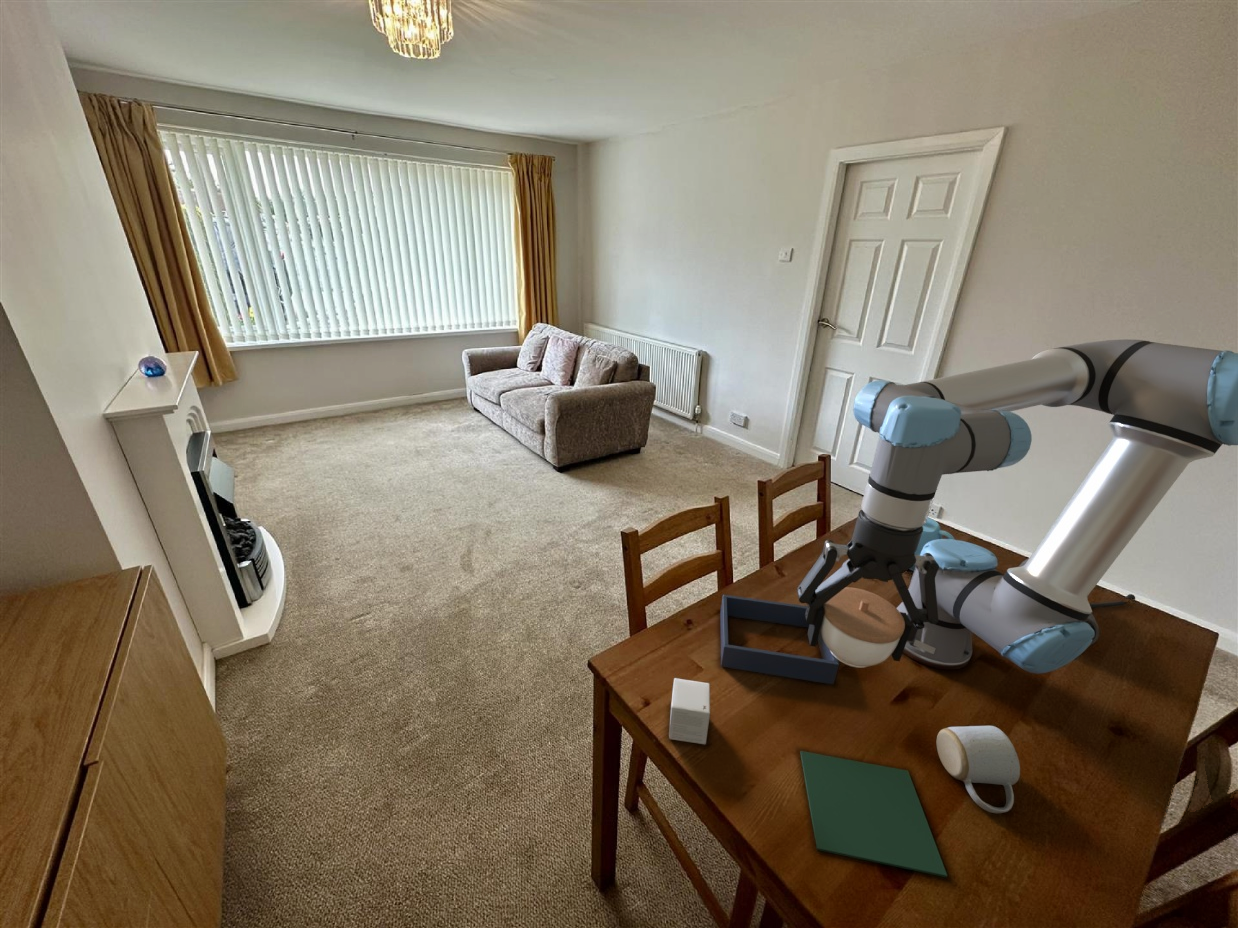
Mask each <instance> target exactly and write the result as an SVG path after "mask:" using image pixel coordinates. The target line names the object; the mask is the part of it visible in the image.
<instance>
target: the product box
mask: <svg viewBox="0 0 1238 928" xmlns="http://www.w3.org/2000/svg"><path fill="white" fill-rule="evenodd" d="M710 688H711V687H710V682H702V681H696V680H689V679H683V678H679V677H674V678H673V685H672V693H671V703H670V716H669V717H670V718H669V732H668V736H669V740H673V741H680V742H685V743H686V742H687V743H692V744H693V743H694V744H699V745H707V739H708V732H709V730H708V729H709V723H710V718H711V691H710V690H711V689H710Z"/></svg>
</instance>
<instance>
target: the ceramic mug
mask: <svg viewBox="0 0 1238 928" xmlns="http://www.w3.org/2000/svg"><path fill="white" fill-rule="evenodd" d="M935 743H936V750H937V753H938V757H939V759H940V762H941V764H942V766H943V767H944V769H945V770H946V771H947V773H948V774H949V775H950V776H951V777H952V778H954V779H955V780H959V781H962V783H964V785H965V789H966V791H967V793H968V794H969V796H970V798H971V799H972V800H973V802H974V803H975V804H976V805H977V806H978V807H980V808H981V809H983V810H984V811H986V812H988V813H993V814H1002V813H1007V812H1009V811H1010V810H1012V808H1013V805H1014V803H1015V794H1014V791H1013V790H1014V789H1013V785H1015V784H1016V783H1017V782H1018V781H1019V779H1020V777H1021V764H1020V760H1019V755H1018V753H1017V751H1016V748H1015V746H1014V744H1013V743H1012V741H1011V740H1010V738H1009V737H1008V736H1007V734H1006V733H1005V732H1004V731H1002V730H1001V729H1000V728H999V727H996V726H995V725H969V726H948V727H944V728H942V729H940V730H939V732H938V733H937V736H936V741H935ZM972 783H976V784H978V783H979V784H990V785H999V786H1001V785H1002V786H1003V788H1004V792H1005V799H1006V802H1005V804H1004V806H1002V807H997V806H993V805H991V804H989V803H987V802H985V801H984V800H982V799H981V798H980V796H979V795H978V793H977V792H976V790H975V788H974V786H973V784H972Z"/></svg>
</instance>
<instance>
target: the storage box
mask: <svg viewBox="0 0 1238 928" xmlns="http://www.w3.org/2000/svg"><path fill="white" fill-rule="evenodd" d="M720 605H721V606H720V612H719V613H720V614H719V615H720V618H719V619H720V665H721V666H720V667H722V668H727V669H728V668H729V669H735V670H741V671H747V672H754V673H759V674H765V675H770V676H771V675H772V676H778V677H783V678H788V679H789V678H790V679H797V680H802V681H808V682H809V681H810V682H815V683H821V684H828V685H834V684H835V680H836V677H837V673H838V670H839V667H840V663H839V660H838V659H837V658H835V657H834V656H833V655H832V653H831V652H830V650H829V648H828V647H827V646H826V644H825V643H824V641H823V639H822V636H821V632H820V631H819V635H818V639H817V644H818V648H819V652H820V655H821V658H816V657H810V656H804V655H797V654H793V653H792V654H791V653H784V652H778V651H772V650H771V651H770V650H766V649H765V650H764V649H758V648H753V647H752V648H751V647H745V646H740V645H733V644H729V625H728V622H729V621H728V617H731V618H732V617H733V618H738V619H739V618H740V619H746V620H752V621H753V620H754V621H760V622H766V623H772V624H773V623H775V624H779V625H780V624H781V625H788V626H795V627H802V628H807V629H809V625H810V624H807V621H806V617H805V613H806V609H807V605H801V604H794V603H787V602H780V601H773V600H764V599H759V598H750V597H743V596H736V595H729V594H722V597H721V604H720Z"/></svg>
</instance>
